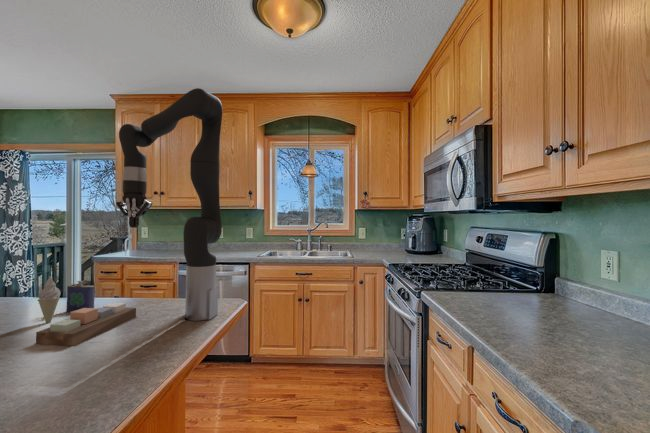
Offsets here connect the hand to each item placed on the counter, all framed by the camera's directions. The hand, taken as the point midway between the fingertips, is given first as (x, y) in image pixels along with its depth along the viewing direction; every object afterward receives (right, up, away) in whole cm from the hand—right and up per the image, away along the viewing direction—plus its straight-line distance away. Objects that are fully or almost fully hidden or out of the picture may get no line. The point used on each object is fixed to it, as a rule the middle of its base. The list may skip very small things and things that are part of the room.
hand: (133, 227), depth 113 cm
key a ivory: (+5, -26, -18) cm, 32 cm away
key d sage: (+4, -26, -35) cm, 43 cm away
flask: (-14, -29, -7) cm, 33 cm away
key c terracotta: (+4, -25, -29) cm, 38 cm away
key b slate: (+5, -26, -24) cm, 36 cm away
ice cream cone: (-12, -29, -21) cm, 38 cm away
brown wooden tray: (+5, -29, -26) cm, 39 cm away
